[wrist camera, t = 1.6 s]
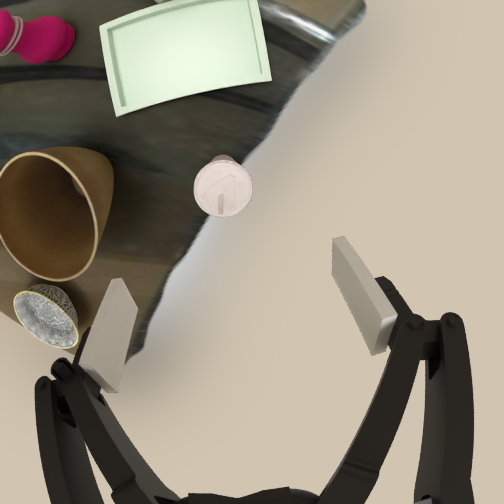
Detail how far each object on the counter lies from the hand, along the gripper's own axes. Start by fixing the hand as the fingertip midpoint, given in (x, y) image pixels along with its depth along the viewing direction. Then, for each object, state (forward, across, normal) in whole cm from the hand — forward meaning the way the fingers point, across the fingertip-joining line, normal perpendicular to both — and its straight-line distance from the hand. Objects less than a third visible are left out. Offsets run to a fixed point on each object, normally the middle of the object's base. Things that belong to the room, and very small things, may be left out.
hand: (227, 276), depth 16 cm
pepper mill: (+24, -20, +27) cm, 42 cm away
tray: (+24, -2, +18) cm, 30 cm away
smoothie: (+25, 0, 0) cm, 25 cm away
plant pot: (+24, -19, +4) cm, 31 cm away
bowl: (+24, -40, -17) cm, 50 cm away
